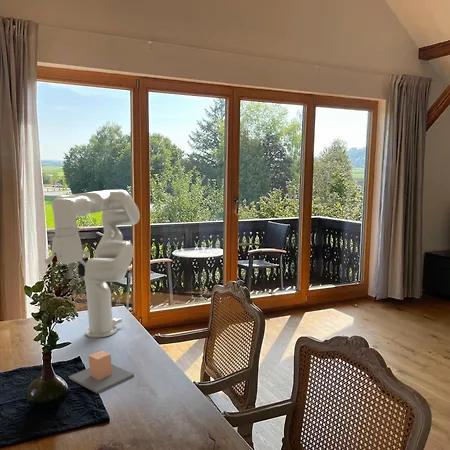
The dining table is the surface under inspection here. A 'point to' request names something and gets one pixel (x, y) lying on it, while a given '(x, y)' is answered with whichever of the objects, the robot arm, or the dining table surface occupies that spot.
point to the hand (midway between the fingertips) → (70, 278)
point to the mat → (103, 384)
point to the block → (100, 365)
